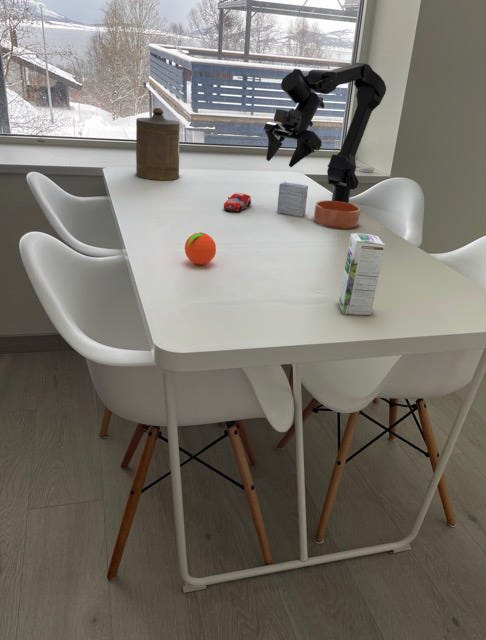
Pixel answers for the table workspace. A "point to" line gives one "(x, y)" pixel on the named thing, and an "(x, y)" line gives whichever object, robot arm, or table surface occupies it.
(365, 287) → the syrup box
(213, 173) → the table surface
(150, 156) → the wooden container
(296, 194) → the medicine box
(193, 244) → the clementine
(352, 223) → the bowl
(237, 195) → the race car
